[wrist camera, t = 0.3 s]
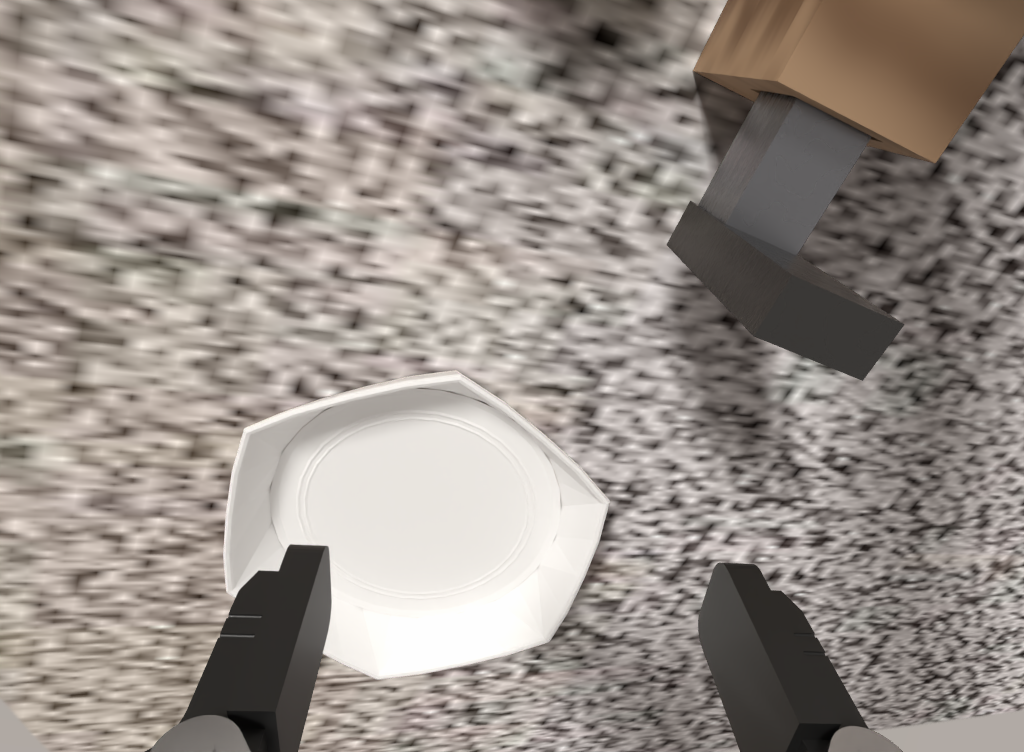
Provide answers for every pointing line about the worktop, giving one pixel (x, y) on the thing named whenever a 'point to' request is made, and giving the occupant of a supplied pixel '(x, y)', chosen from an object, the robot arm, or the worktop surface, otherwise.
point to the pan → (418, 521)
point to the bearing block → (869, 61)
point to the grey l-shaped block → (783, 236)
